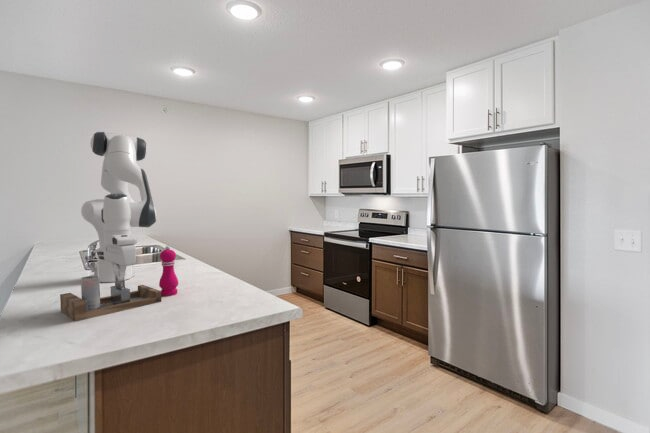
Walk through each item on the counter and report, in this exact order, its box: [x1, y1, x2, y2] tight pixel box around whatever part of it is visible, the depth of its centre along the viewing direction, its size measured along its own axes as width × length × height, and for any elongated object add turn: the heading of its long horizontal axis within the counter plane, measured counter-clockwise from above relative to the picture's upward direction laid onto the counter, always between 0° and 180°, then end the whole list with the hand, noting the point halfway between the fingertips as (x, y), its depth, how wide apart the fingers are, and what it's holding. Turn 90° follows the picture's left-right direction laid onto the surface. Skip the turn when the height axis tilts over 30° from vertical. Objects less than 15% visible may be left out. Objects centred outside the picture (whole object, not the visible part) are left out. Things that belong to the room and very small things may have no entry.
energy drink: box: [80, 275, 101, 311], centre depth 126 cm, size 5×5×12 cm
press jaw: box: [109, 264, 131, 305], centre depth 133 cm, size 10×3×15 cm, turn 50°
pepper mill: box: [158, 245, 179, 297], centre depth 147 cm, size 7×7×20 cm
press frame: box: [59, 284, 162, 322], centre depth 131 cm, size 16×28×6 cm, turn 140°
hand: (119, 275), depth 133 cm, fingers closed on press jaw, 3 cm apart
